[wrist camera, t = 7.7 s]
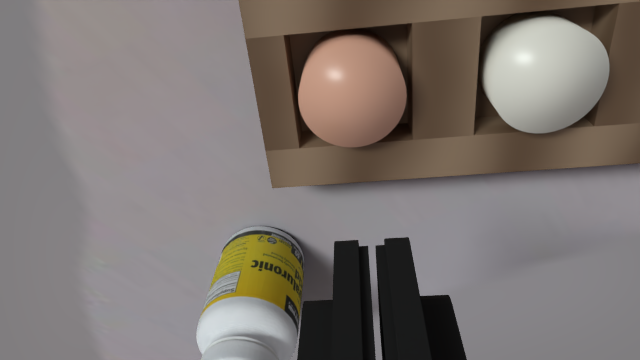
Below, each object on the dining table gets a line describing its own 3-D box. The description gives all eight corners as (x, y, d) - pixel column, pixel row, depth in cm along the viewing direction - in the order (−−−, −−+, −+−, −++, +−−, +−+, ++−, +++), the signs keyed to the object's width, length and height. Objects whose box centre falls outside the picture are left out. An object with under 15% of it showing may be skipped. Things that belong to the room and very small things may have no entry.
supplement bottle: (322, 262, 32) (315, 396, 23) (260, 298, 34) (234, 434, 25) (267, 208, 30) (238, 333, 21) (205, 249, 31) (156, 379, 23)
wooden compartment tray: (845, -89, 21) (918, -86, 18) (760, 125, 26) (807, 151, 23) (247, -25, 23) (235, -14, 20) (278, 160, 28) (272, 188, 25)
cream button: (587, 4, 22) (620, 20, 19) (570, 103, 24) (597, 129, 22) (479, 15, 22) (497, 31, 20) (473, 111, 25) (488, 137, 22)
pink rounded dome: (398, 23, 22) (405, 39, 20) (400, 117, 25) (407, 143, 22) (296, 32, 23) (291, 50, 20) (308, 124, 25) (304, 151, 23)
